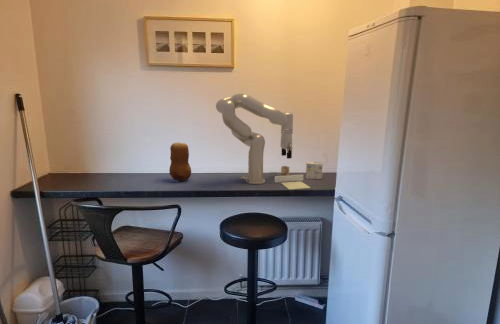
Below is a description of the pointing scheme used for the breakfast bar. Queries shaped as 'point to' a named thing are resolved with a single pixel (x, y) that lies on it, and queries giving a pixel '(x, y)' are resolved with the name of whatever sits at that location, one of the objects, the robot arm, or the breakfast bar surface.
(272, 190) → the breakfast bar surface
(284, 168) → the birch cylinder
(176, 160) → the butternut squash
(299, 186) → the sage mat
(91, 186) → the breakfast bar surface
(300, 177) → the cream plank
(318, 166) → the light bulb box
